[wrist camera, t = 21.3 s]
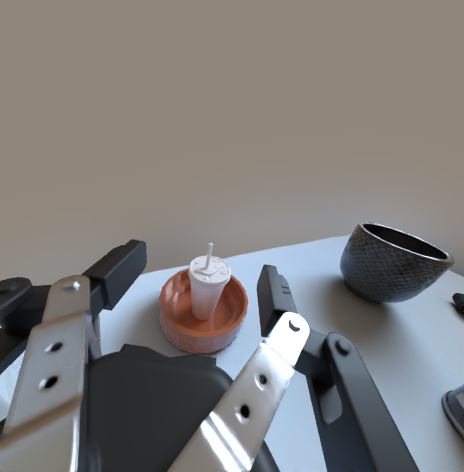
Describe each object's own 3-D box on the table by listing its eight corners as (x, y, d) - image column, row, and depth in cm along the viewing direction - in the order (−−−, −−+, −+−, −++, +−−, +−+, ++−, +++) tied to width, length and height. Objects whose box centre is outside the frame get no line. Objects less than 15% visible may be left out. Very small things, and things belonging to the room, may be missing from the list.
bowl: (236, 284, 38) (240, 269, 36) (249, 354, 26) (257, 336, 24) (169, 281, 35) (169, 263, 33) (148, 357, 23) (146, 337, 21)
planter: (354, 266, 56) (384, 222, 48) (417, 312, 42) (472, 260, 34) (315, 270, 49) (342, 220, 42) (373, 325, 36) (429, 264, 28)
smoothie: (179, 301, 31) (185, 233, 24) (212, 292, 34) (224, 230, 27) (190, 334, 26) (200, 260, 20) (227, 320, 29) (246, 253, 23)
